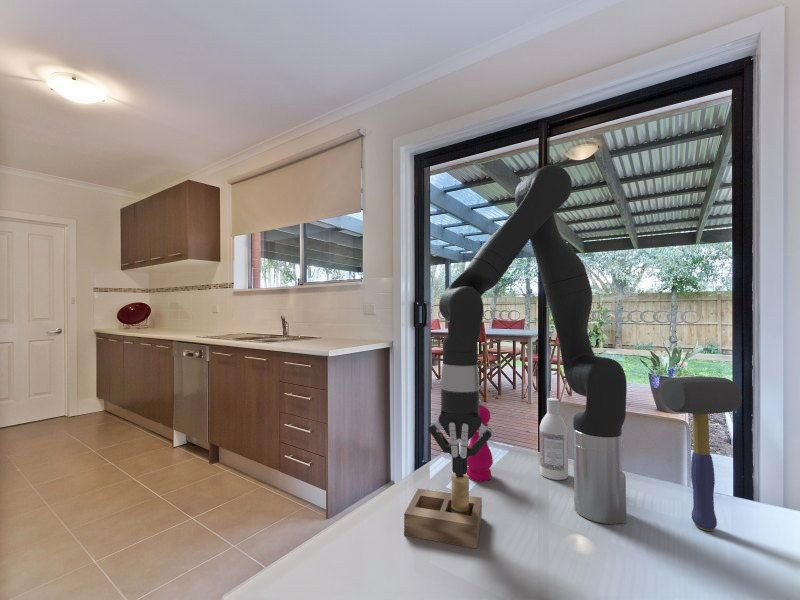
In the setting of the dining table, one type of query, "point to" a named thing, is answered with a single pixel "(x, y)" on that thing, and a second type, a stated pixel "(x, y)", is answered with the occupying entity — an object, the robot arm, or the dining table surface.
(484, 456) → the pepper mill
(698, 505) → the rubber mallet
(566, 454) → the bath foam
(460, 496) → the peg
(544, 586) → the dining table surface
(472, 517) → the board
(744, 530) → the dining table surface
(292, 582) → the dining table surface
